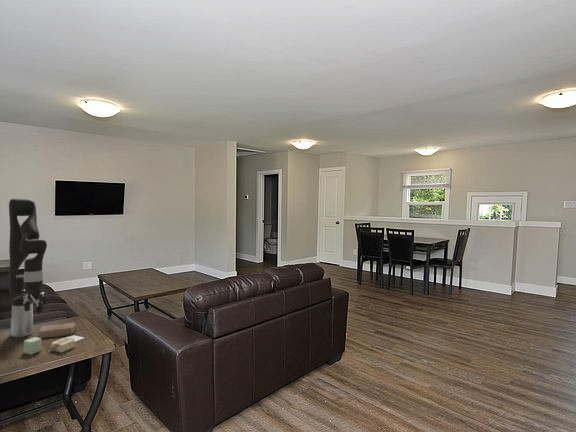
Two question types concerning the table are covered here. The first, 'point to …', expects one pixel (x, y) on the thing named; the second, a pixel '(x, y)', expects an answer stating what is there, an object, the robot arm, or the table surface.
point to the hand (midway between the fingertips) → (33, 312)
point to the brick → (56, 330)
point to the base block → (62, 344)
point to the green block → (32, 345)
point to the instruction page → (75, 337)
